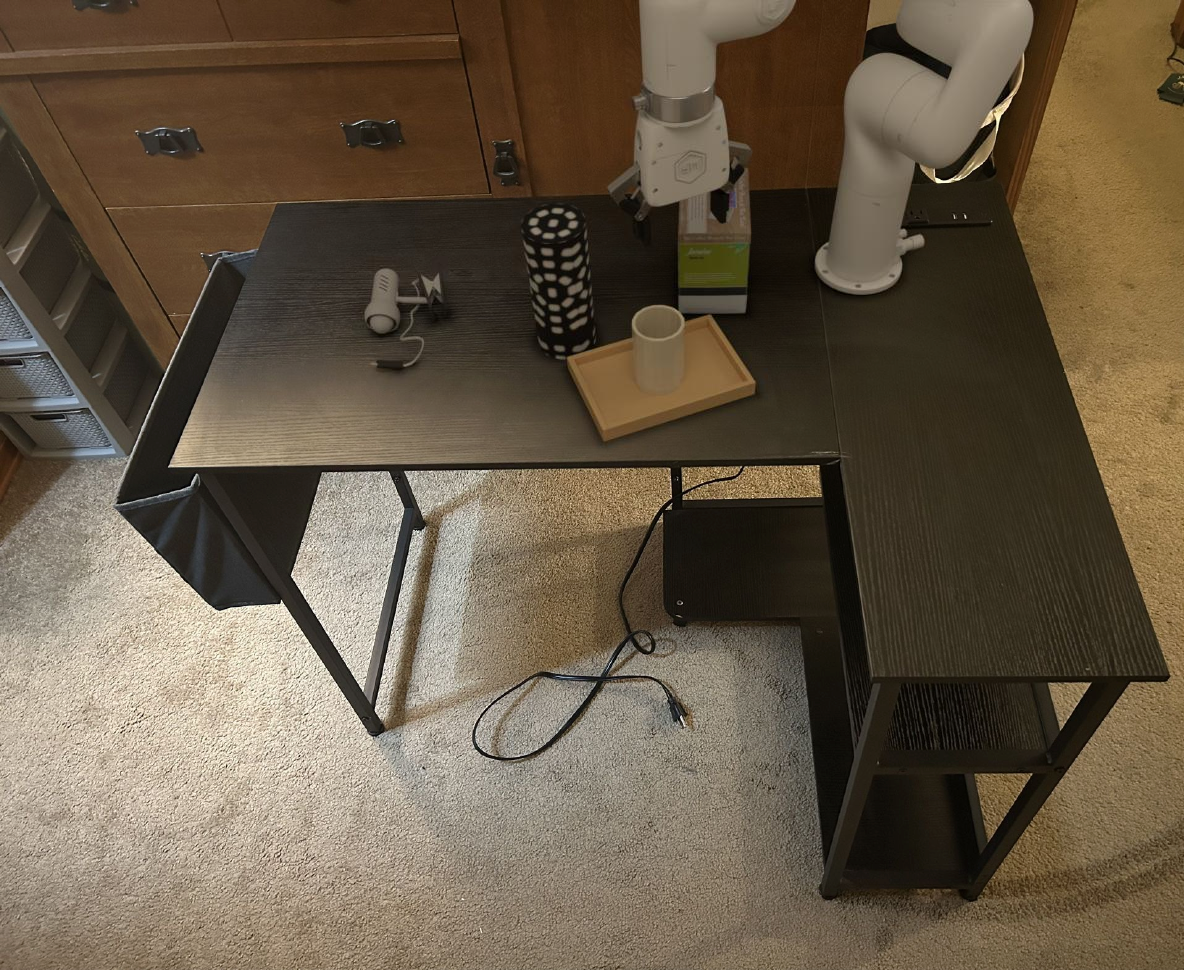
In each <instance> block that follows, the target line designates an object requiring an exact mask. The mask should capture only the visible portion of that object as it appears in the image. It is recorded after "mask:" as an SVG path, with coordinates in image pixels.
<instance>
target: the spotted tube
mask: <svg viewBox="0 0 1184 970" xmlns="http://www.w3.org/2000/svg"><path fill="white" fill-rule="evenodd" d="M587 228H588V227H587V219H586V216H585V214H584V212H583V211H582V210H581V209H579V208H578V207H576V206H574V205H572V204H567V203H559V202H556V203H555V202H553V203H546V204H543V205H539V206H537V207H534V208H532V209H531V210H530V211H528V212H527V213H526V214H525V215H524V217H523V218H522V219H521V222H520V231H521V237H522V243H523V250H524V251H523V252H524V257H525V264H526V270H527V278H528V283H529V291H530V296H531V304H532V310H533V316H534V323H535V329H536V336H537V341H538V342H537V343H538V346H539V349H540V350H541V351H542V352H543V354H545V355H546V356H548V357H550V358H552V359H558V360H567V357H569V356H572V355H576V354H579V353H582V352H586V351H589V350H592V349H593V348H594V346H595V343H596V340H597V335H596V334H597V332H596V321H595V310H594V299H593V298H594V297H593V288H592V273H591V264H590V263H591V262H590V251H589V240H588V238H589V237H588V229H587Z"/></svg>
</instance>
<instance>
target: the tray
mask: <svg viewBox="0 0 1184 970" xmlns="http://www.w3.org/2000/svg"><path fill="white" fill-rule="evenodd" d="M684 322H685V329H684V378H683V382H682V384H681V386H680V387H679V388H678V389H677V390H675V391H674V392H672V393H669V394H666V395H651V394H648V393H645V392H643V391H642V390H640V389H639V388H638V387H637V385H636V383H635V380H634V365H633V342H632V337H629V338H626V339H623V340H619V341H616V342H613V343H609V344H606V345H603V346H602V345H601V346H599V347H596V348H591V350H589V351H586V352H582V353H579V354H576V355H572V356H569V357H567V359H566V363H567V370H568V372H569V374H570V376H571V378H572V380H573V382H574V384H575V386H576V387H577V391H578V392H579V394H580V396H581V398H582V400H583V402H584V405H585V406H586V408H587V410H588V412H589V415H590V416H591V418H592V420H593V423H594V425H595V427H596V429H597V431H598V433H599V435H600V437H601V439H602V441H603V442H608V441H611V440H614V439H618V438H619V437H620V438H621V437H624V436H626V435H630V434H633V433H636V432H640V431H643V430H645V429H649V428H652V427H655V426H659V425H661V424H665V423H668V422H671V421H674V420H677V419H681V418H683V417H687V416H690V415H693V414H696V413H700V412H702V411H703V412H704V411H706V410H709V409H712V408H715V407H718V406H722V405H725V404H728V403H731V402H734V401H738V400H740V399H744V398H747V397H750V396H753V395H755V393H756V384H757V382H756V380H755V379H754V378H753V376H752V375H751V373H750V371H749V370H748V368H747V367H746V366H745V364H744V362H743V361H742V359H741V358H740V356H739V355H738V353H737V352H736V350H735V349H734V347H733V345H732V344H731V342H730V341H729V340H728V338H727V337H726V335H725V334H724V332H723V331H722V329H721V328H720V326H719V325H718V323H717V322H716V321H715V319H714V317H713V316H712V314H710V313H708V314H706V315H702V316H700V317H697V318H696V317H695V318H692V319H689V320H686V321H684Z"/></svg>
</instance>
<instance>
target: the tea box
mask: <svg viewBox="0 0 1184 970" xmlns="http://www.w3.org/2000/svg"><path fill="white" fill-rule="evenodd" d="M749 176H750V175H749V167H744V173H743V175H742V176H741V177H740V178H739V179H738V181H737V182H736V183H735V184H734V190H733V192H731V193H730V196H729V211H727V216H726V223H723V224H721V223H719V222H718V220H717V219H716V218H715V216H714V215H713V214H712V212H711V210H710V192H707V193H704V194H701V195H698V196H694V197H691V198H688V199H685V200H681V201H678V204H679V205H678V225H677V226H678V228H677V230H678V231H677V273H678V274H677V279H678V280H677V288H678V289H677V293H678V294H677V296H678V297H677V298H678V311H679V312H680V313H681V314H693V315H694V314H697V315H698V314H700V315H701V314H703V315H704V314H706V315H707V314H711V315H712V314H713V315H714V314H715V315H716V314H718V315H719V314H721V315H722V314H746V311H747V301H748V286H749V274H750V258H751V246H752V224H751V199H750V180H749V179H750V177H749Z"/></svg>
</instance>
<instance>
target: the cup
mask: <svg viewBox="0 0 1184 970" xmlns="http://www.w3.org/2000/svg"><path fill="white" fill-rule="evenodd" d="M685 322H686V321H685V317H684V316H683V313H680V312H679V309H678V310H677V309H676V308H674V307H673V306H669V305H665V304H653V305H648V306H645V307H643V308H641V309H640V310H638V311H637V312H636V313H635V314H634V316H633V318H632V319H631V338H632V342H633V365H634V380H635V383H636V385H637V387H638V388H639V389H640V390H642V391H643V392H645V393H648V394H651V395H666V394H669V393H672V392H674V391H675V390H677V389H678V388H679V387H680V386H681V384H682V382H683V378H684V329H685Z"/></svg>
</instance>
